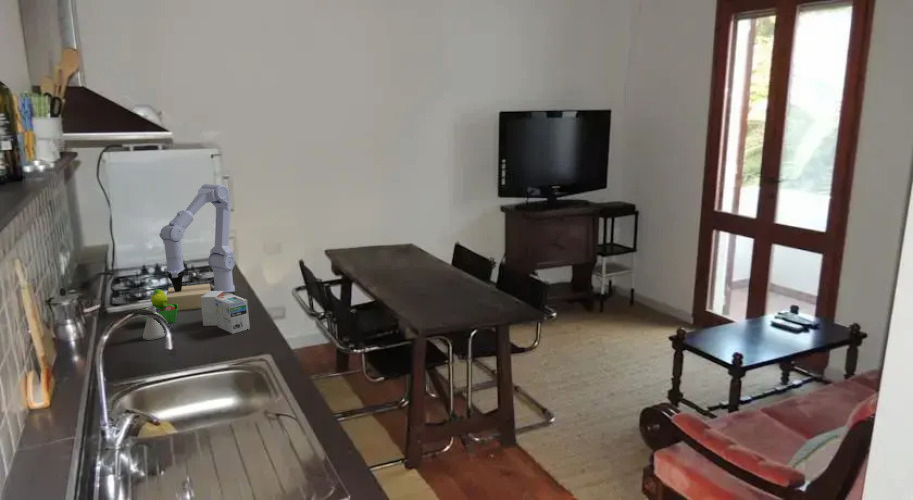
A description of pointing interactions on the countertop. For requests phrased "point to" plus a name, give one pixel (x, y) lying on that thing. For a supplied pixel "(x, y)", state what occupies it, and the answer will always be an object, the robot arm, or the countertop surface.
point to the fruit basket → (164, 306)
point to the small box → (210, 307)
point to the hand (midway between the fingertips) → (178, 291)
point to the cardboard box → (186, 302)
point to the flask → (152, 328)
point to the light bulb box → (232, 313)
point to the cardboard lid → (189, 291)
